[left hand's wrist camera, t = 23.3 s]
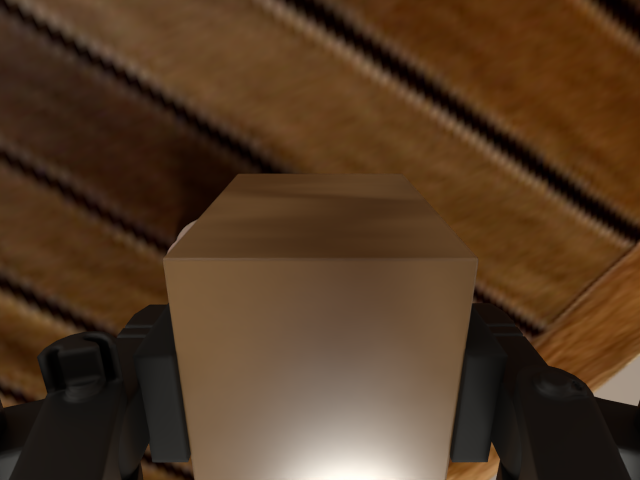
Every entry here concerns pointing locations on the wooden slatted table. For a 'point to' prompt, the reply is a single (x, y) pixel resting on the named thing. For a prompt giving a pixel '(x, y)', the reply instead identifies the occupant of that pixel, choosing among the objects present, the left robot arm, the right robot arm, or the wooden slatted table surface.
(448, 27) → the wooden slatted table surface
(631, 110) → the wooden slatted table surface
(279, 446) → the block
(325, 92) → the wooden slatted table surface
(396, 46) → the wooden slatted table surface
